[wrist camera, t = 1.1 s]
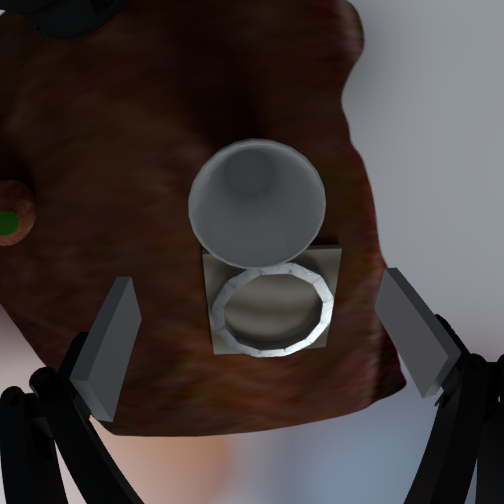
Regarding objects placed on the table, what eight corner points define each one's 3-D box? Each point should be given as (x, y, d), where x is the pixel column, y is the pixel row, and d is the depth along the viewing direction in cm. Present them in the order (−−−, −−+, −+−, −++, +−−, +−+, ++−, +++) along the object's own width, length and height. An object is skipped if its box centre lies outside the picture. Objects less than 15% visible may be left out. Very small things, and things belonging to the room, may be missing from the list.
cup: (222, 224, 37) (219, 286, 25) (189, 146, 32) (165, 170, 21) (303, 196, 36) (338, 246, 24) (277, 115, 31) (305, 120, 20)
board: (203, 249, 39) (202, 254, 38) (338, 244, 40) (341, 248, 39) (214, 348, 47) (214, 354, 46) (323, 341, 48) (325, 346, 47)
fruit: (-1, 176, 31) (-44, 199, 22) (44, 168, 32) (-1, 191, 23) (10, 229, 35) (-28, 261, 26) (54, 227, 36) (17, 262, 27)
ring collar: (208, 259, 38) (207, 266, 36) (335, 253, 39) (340, 260, 37) (218, 350, 46) (218, 359, 44) (321, 344, 46) (323, 351, 45)
